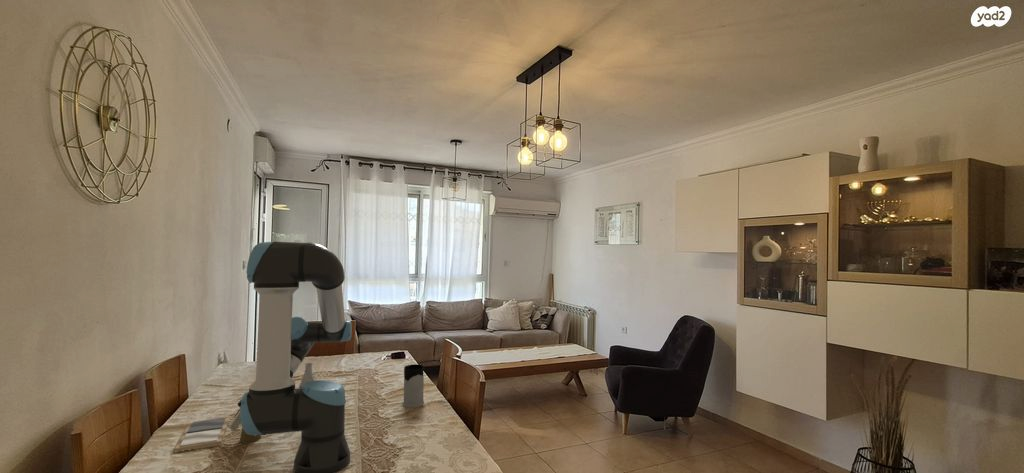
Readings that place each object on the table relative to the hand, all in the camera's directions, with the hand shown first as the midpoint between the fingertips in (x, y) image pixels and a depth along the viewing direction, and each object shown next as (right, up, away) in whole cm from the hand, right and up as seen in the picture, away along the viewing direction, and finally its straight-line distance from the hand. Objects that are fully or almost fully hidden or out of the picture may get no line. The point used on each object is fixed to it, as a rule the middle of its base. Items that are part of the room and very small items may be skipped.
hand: (241, 431), depth 141 cm
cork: (+1, -4, +3) cm, 5 cm away
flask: (-6, -6, +60) cm, 60 cm away
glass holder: (+45, -6, +40) cm, 60 cm away
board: (-16, -4, +6) cm, 17 cm away
